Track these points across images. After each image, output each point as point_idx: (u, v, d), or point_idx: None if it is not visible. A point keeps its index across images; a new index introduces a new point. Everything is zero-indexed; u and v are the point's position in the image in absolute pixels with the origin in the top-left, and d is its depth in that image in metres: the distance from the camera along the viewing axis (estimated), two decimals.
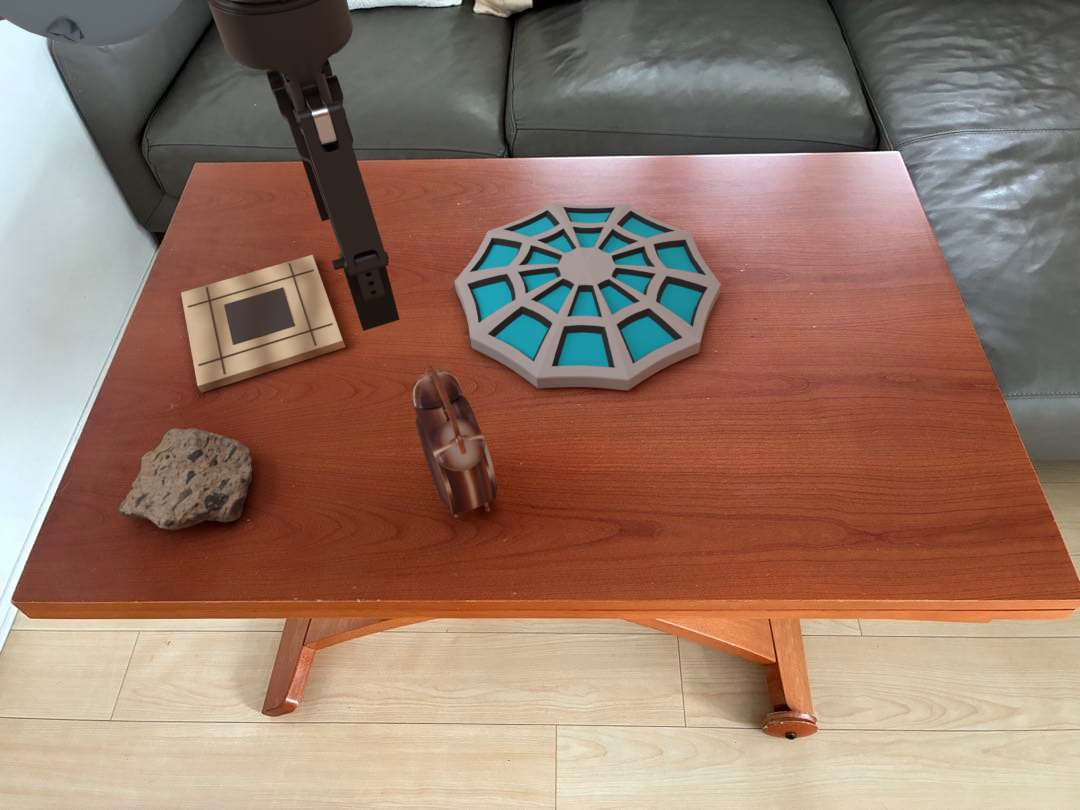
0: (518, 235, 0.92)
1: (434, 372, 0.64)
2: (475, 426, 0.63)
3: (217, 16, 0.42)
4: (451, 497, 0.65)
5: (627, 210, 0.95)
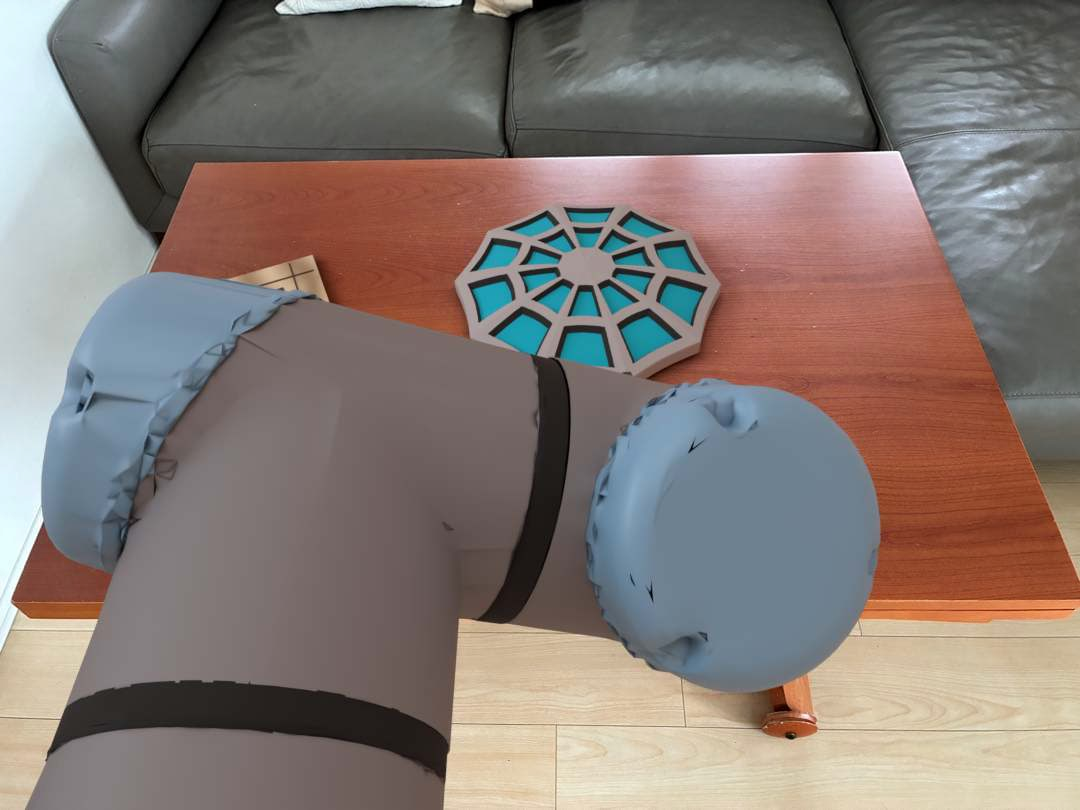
0: (518, 235, 0.92)
1: None
2: None
3: None
4: None
5: (627, 210, 0.95)
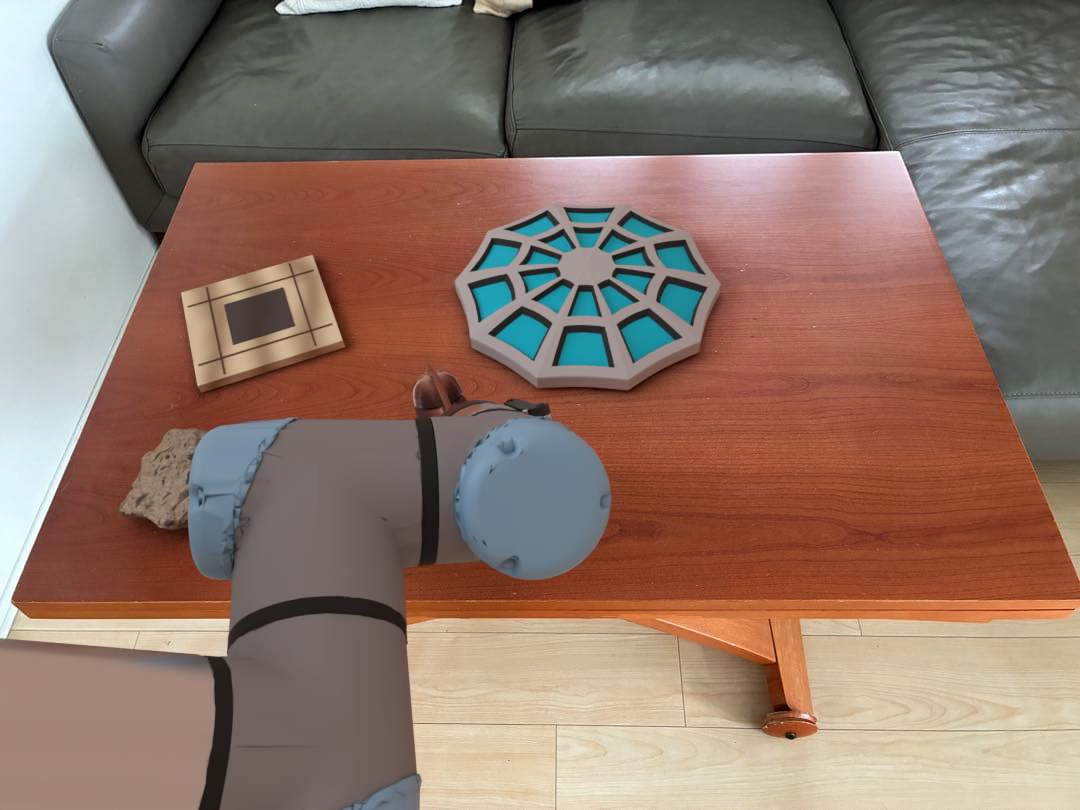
0: (518, 235, 0.92)
1: (434, 372, 0.64)
2: None
3: (447, 415, 0.50)
4: None
5: (627, 210, 0.95)
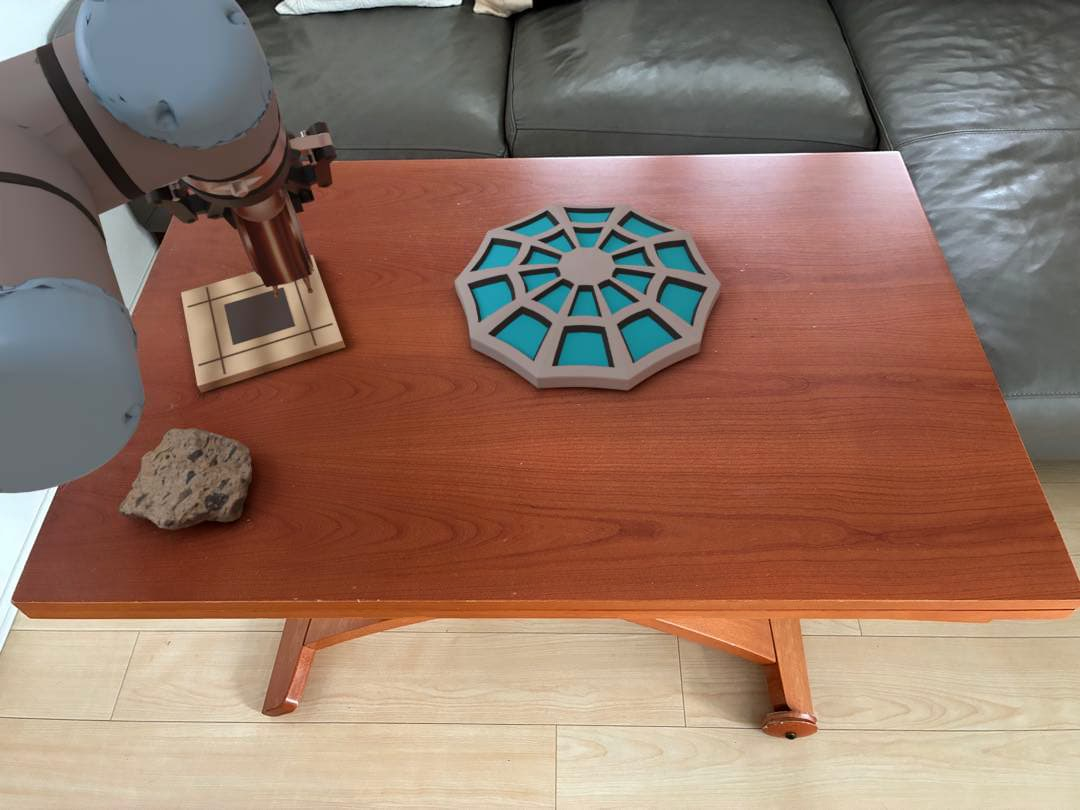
0: (518, 235, 0.92)
1: None
2: None
3: None
4: (253, 255, 0.63)
5: (627, 210, 0.95)
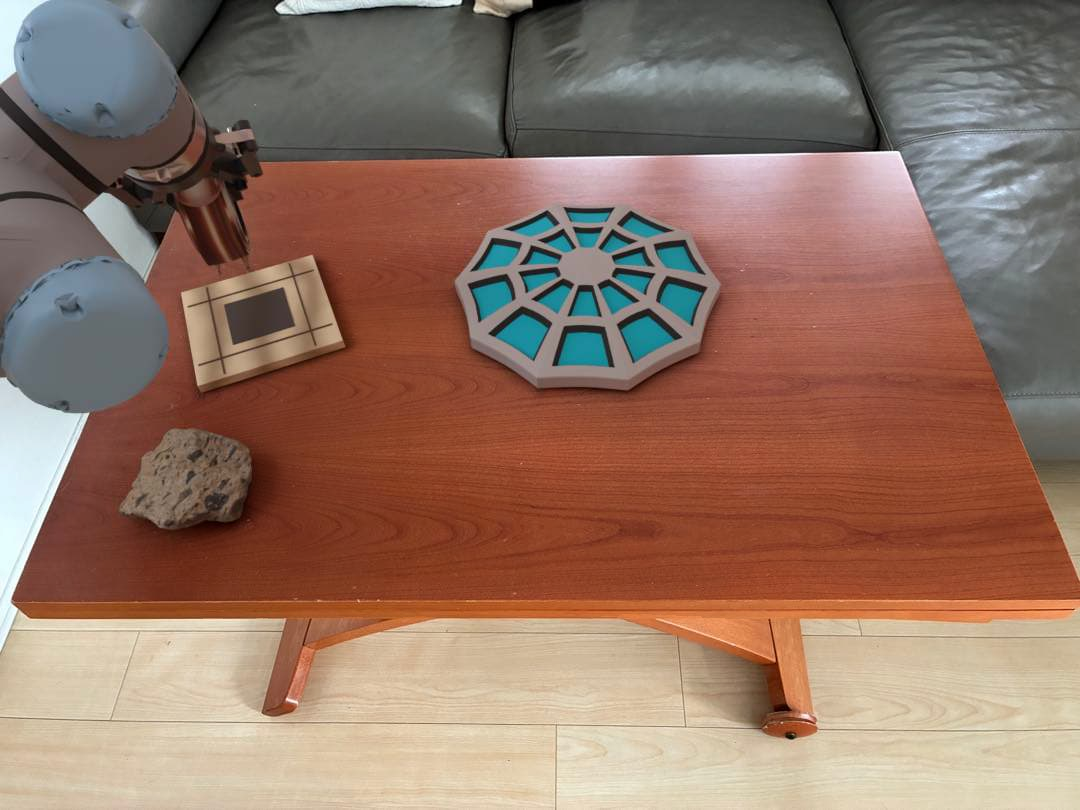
0: (518, 235, 0.92)
1: None
2: None
3: None
4: (194, 236, 0.73)
5: (627, 210, 0.95)
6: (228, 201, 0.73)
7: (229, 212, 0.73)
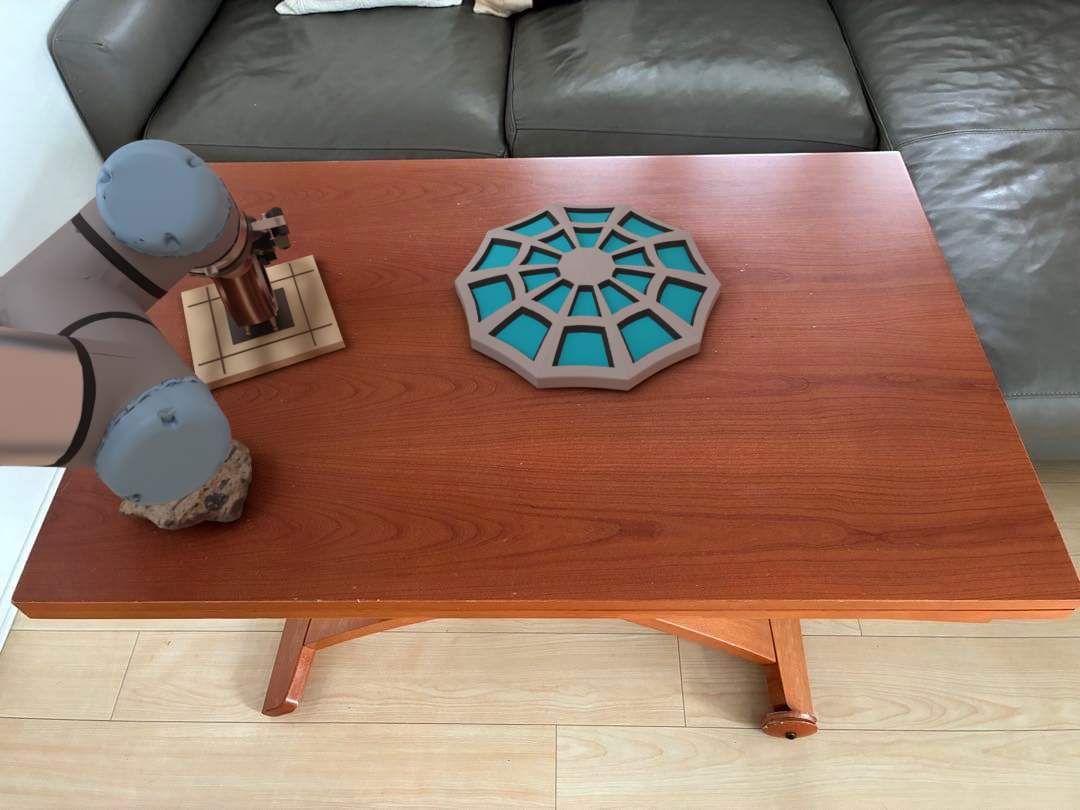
0: (518, 235, 0.92)
1: None
2: None
3: None
4: (228, 304, 0.80)
5: (627, 210, 0.95)
6: (259, 271, 0.80)
7: (260, 282, 0.80)
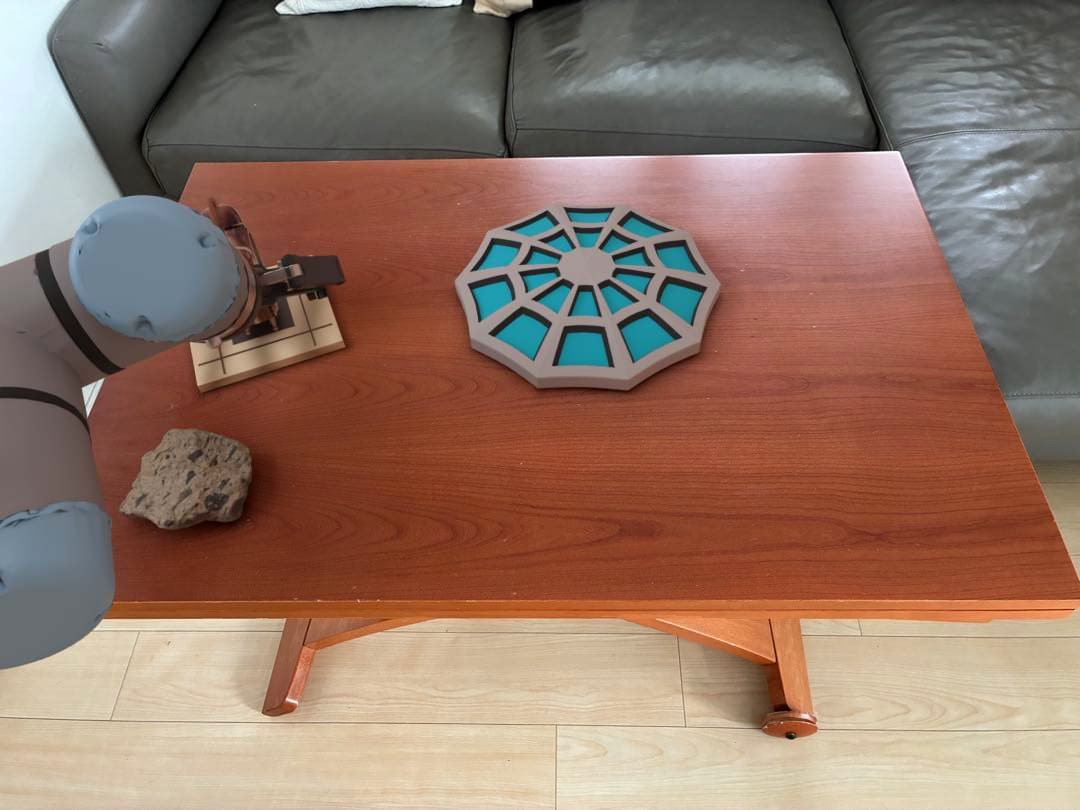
0: (518, 235, 0.92)
1: (209, 198, 0.78)
2: (241, 240, 0.78)
3: None
4: None
5: (627, 210, 0.95)
6: None
7: None
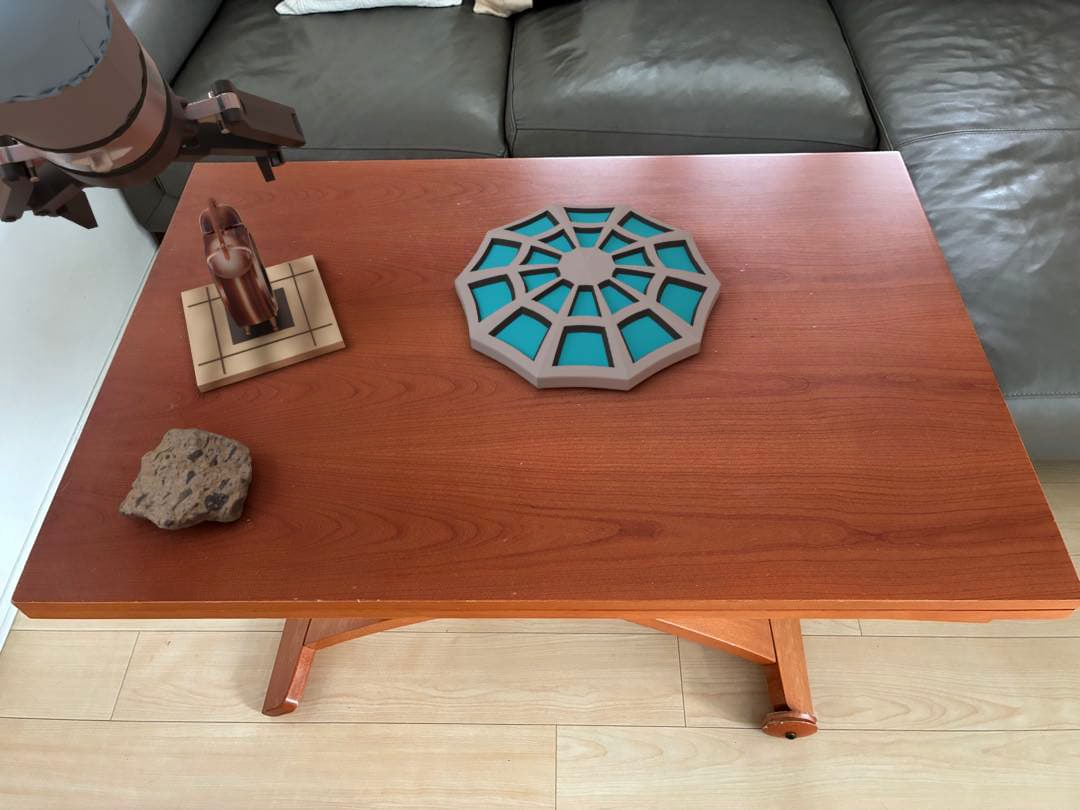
0: (518, 235, 0.92)
1: (209, 198, 0.78)
2: (241, 240, 0.78)
3: None
4: (227, 304, 0.80)
5: (627, 210, 0.95)
6: (259, 272, 0.80)
7: (260, 282, 0.80)
